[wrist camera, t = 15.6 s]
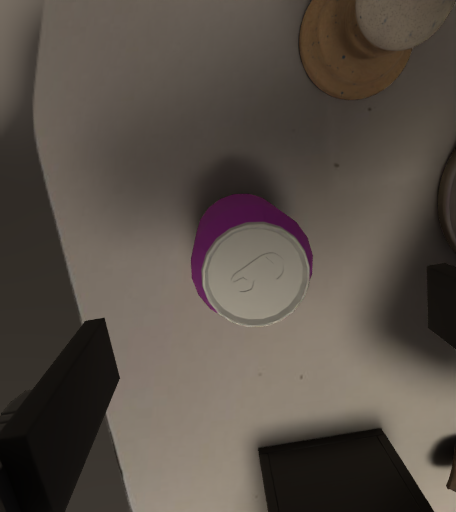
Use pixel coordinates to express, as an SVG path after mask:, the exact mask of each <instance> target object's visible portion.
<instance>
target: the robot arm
mask: <svg viewBox="0 0 456 512" xmlns="http://www.w3.org/2000/svg"><path fill="white" fill-rule="evenodd" d="M438 215H439V221H440V225H441V229H442V231H443V234H444V237H445V238H446V240H447V242H448V244H449V245H450V247H451V248H452V250H453V251H454V252H455V253H456V148H455V150H454V151H453V153H452V154H451V156H450V158H449V160H448V162H447V165H446V167H445V169H444V172H443V175H442V178H441V182H440V187H439V193H438ZM427 302H428V328H429V329H430V330H431V331H433V332H434V333H435V334H436V335H438V336H439V337H440V338H442V339H443V340H444V341H446V342H447V343H448V344H449V345H451V346H452V347H453V348H455V349H456V267H454V266H451V265H449V264H447V263H442V264H435V265H429V266H427ZM119 379H120V377H119V373H118V369H117V365H116V361H115V357H114V353H113V349H112V346H111V342H110V338H109V334H108V330H107V326H106V322H105V318H101V319H94V320H88V321H85V322H84V323H83V325H82V326H81V327H80V329H79V330H78V331H77V333H76V334H75V335H74V337H73V338H72V339H71V340H70V342H69V343H68V344H67V346H66V347H65V348H64V350H63V351H62V352H61V353H60V355H59V356H58V357H57V359H56V360H55V361H54V362H53V364H52V365H51V366H50V368H49V369H48V370H47V371H46V373H45V374H44V375H43V377H42V378H41V379H40V381H39V382H38V383H37V384H36V386H35V387H34V388H33V390H28V391H24V392H23V393H22V394H20V395H19V396H18V397H17V398H15V399H14V400H13V401H11V402H10V403H9V405H8V406H7V407H6V408H5V409H4V411H3V412H2V413H1V416H0V512H65V510H66V508H67V505H68V503H69V500H70V498H71V495H72V493H73V491H74V488H75V486H76V483H77V481H78V478H79V476H80V474H81V471H82V469H83V466H84V464H85V461H86V459H87V456H88V454H89V452H90V449H91V447H92V444H93V442H94V440H95V437H96V435H97V432H98V430H99V427H100V425H101V423H102V420H103V418H104V415H105V413H106V410H107V408H108V406H109V403H110V401H111V398H112V396H113V393H114V391H115V389H116V386H117V384H118V381H119Z"/></svg>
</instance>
